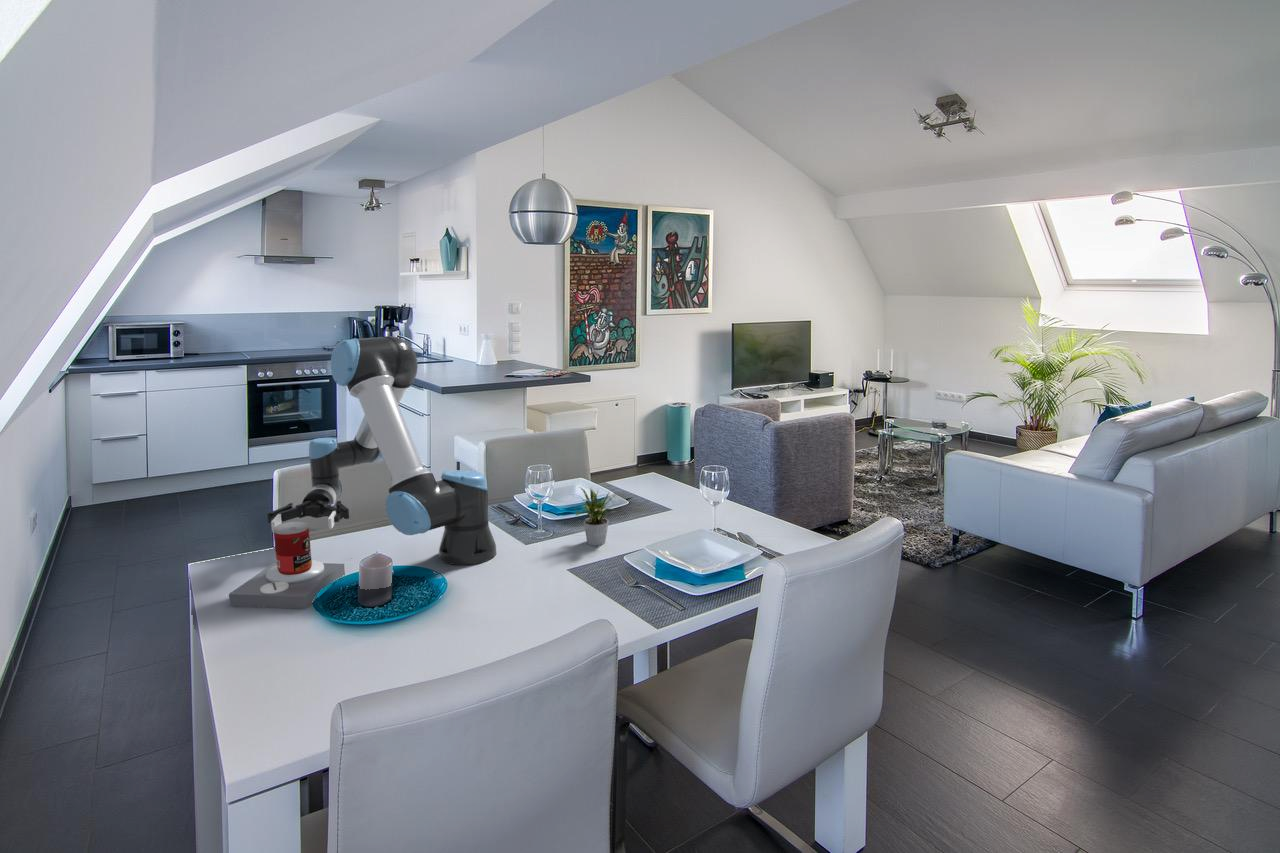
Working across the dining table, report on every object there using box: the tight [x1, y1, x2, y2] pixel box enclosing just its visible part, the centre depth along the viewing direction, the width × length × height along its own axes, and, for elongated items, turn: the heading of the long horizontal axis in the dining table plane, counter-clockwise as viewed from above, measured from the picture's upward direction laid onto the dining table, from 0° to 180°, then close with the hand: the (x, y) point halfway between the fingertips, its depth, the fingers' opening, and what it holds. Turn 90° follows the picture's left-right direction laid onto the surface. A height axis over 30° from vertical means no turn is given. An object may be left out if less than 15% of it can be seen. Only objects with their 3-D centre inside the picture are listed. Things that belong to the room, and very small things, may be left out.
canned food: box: [273, 521, 313, 575], centre depth 188 cm, size 8×8×11 cm
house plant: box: [570, 486, 619, 546], centre depth 218 cm, size 14×14×16 cm
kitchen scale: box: [228, 559, 346, 610], centre depth 186 cm, size 18×20×4 cm
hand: (301, 525), depth 197 cm, fingers open, 13 cm apart
